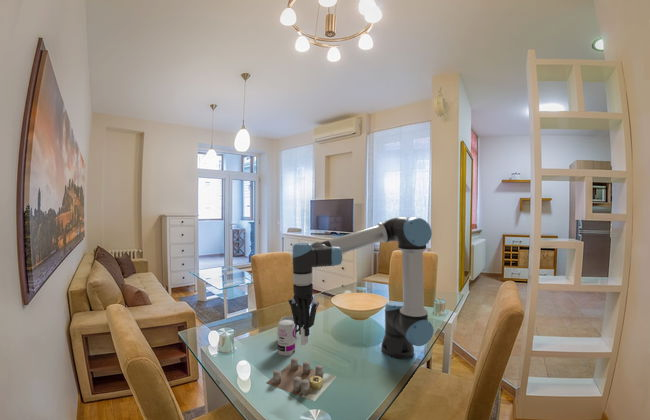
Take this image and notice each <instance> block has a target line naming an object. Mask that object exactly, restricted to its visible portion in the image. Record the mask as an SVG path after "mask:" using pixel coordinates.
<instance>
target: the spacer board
mask: <svg viewBox="0 0 650 420" xmlns="http://www.w3.org/2000/svg"><path fill="white" fill-rule="evenodd" d="M312 376H320V377H321V378H322V379H323V386H322V387H321V388H320V389H319V390H312V389H311V388H310V386H309V379H310V378H311V377H312ZM336 378H337V376H335V375H332V374H329V373H327V372H324V366H323V365H322V364H317V365H315V369H313V368H311V362H310V361H308V360H305V361H303V362H302V365H300V364H299V358H298V357H291V358H290V363H289V364H288V365H287V366H286V367H284V368H283V369H281V370H280V369H275V370H273V373H272V377H271V378H270V379H269V380H268V381H267V382H266V384H267V385H270V386H272V387H275V388H278V389H279V390H283V391H285V392H289V393H291V394H293V395H296V396H299V397H302V398H305V399H306V400H310V401H311V402H316V401H317V400H318V399H319V398H320V396H322V394H323V393H324V392H325V391H326V389H328V387H329V386H330V385H331V384H332V383H333V382H334V381H335V379H336Z"/></svg>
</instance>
